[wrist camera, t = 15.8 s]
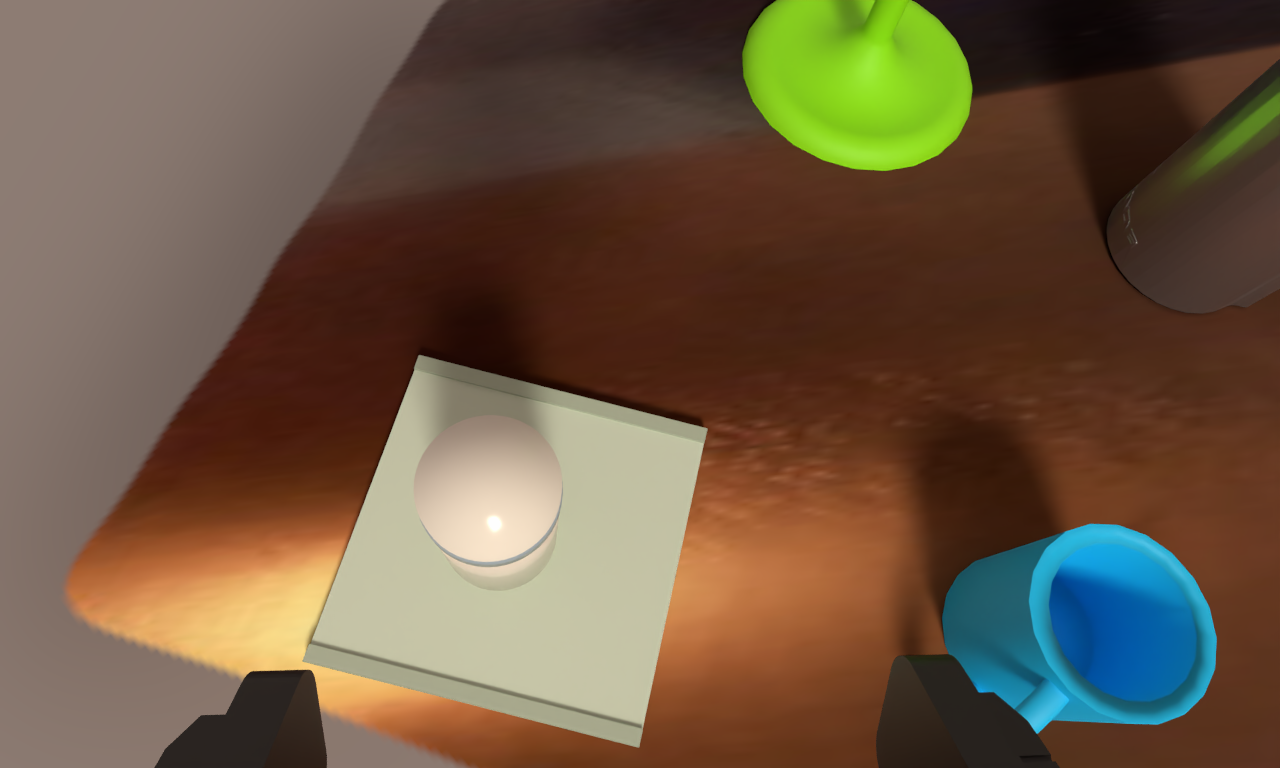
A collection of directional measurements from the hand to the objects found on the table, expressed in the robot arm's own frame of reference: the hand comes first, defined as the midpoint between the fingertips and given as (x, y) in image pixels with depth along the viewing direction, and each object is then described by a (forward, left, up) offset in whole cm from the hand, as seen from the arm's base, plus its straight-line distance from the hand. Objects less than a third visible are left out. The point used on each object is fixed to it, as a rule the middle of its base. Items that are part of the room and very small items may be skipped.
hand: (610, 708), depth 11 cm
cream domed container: (+6, -7, -28) cm, 29 cm away
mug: (-20, -7, -29) cm, 36 cm away
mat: (+5, -7, -29) cm, 30 cm away
